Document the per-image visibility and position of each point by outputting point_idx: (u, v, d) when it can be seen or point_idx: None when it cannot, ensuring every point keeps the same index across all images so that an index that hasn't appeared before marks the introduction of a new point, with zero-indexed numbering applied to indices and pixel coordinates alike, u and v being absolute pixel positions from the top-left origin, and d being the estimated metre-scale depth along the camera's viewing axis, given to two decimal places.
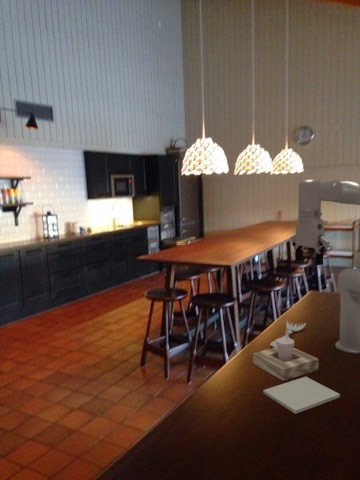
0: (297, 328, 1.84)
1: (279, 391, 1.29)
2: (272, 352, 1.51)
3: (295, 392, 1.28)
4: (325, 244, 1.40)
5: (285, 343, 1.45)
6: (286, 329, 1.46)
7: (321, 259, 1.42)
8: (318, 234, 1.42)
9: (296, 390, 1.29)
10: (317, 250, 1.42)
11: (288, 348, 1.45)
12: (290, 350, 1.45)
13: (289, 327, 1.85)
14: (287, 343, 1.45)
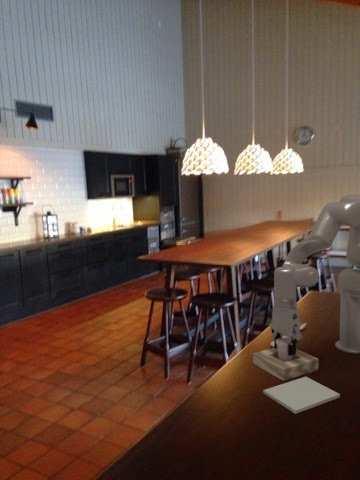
0: None
1: (279, 391, 1.29)
2: (272, 352, 1.51)
3: (295, 392, 1.28)
4: (298, 338, 1.40)
5: (285, 343, 1.45)
6: None
7: (293, 350, 1.43)
8: (293, 325, 1.42)
9: (296, 390, 1.29)
10: (289, 341, 1.43)
11: None
12: None
13: None
14: (287, 343, 1.45)
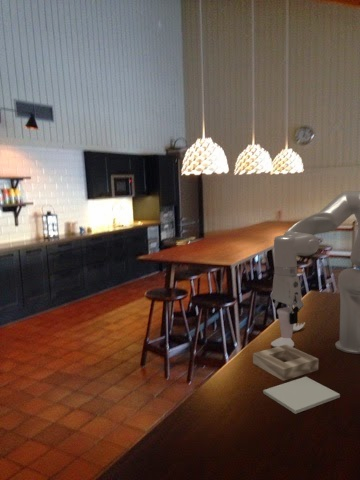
0: (296, 328, 1.85)
1: (279, 391, 1.29)
2: (272, 352, 1.51)
3: (295, 392, 1.28)
4: (299, 306, 1.39)
5: (286, 312, 1.44)
6: None
7: (295, 318, 1.42)
8: (294, 293, 1.40)
9: (296, 390, 1.29)
10: (291, 309, 1.42)
11: None
12: None
13: None
14: (288, 312, 1.44)
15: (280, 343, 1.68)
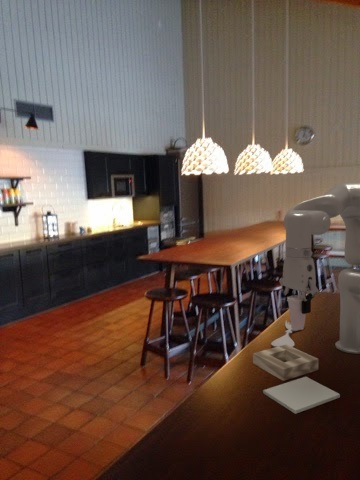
0: None
1: (279, 391, 1.29)
2: (272, 352, 1.51)
3: (295, 392, 1.28)
4: (313, 292, 1.21)
5: (298, 299, 1.26)
6: None
7: (308, 307, 1.25)
8: (308, 278, 1.23)
9: (296, 390, 1.29)
10: (303, 297, 1.24)
11: (301, 305, 1.26)
12: None
13: (288, 326, 1.86)
14: (300, 299, 1.26)
15: (280, 343, 1.68)
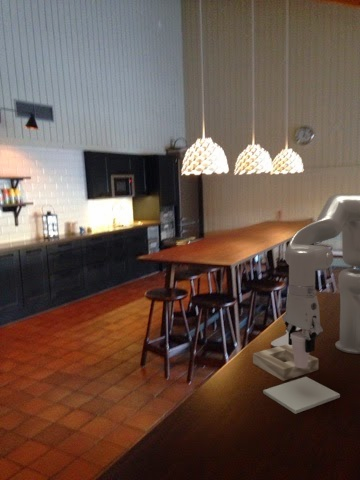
0: (297, 327, 1.85)
1: (279, 391, 1.29)
2: (272, 352, 1.51)
3: (295, 392, 1.28)
4: (317, 331, 1.19)
5: (301, 338, 1.23)
6: None
7: (312, 346, 1.22)
8: (312, 317, 1.20)
9: (296, 390, 1.29)
10: (307, 335, 1.21)
11: None
12: None
13: None
14: (304, 338, 1.23)
15: (280, 343, 1.68)
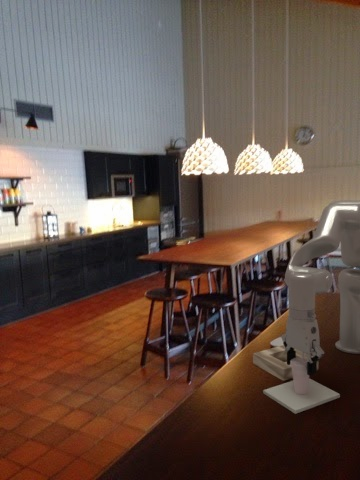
0: None
1: (279, 391, 1.29)
2: (272, 352, 1.51)
3: (295, 392, 1.28)
4: (319, 354, 1.19)
5: (301, 365, 1.25)
6: None
7: (314, 368, 1.22)
8: (312, 340, 1.21)
9: None
10: (309, 358, 1.22)
11: (305, 371, 1.24)
12: None
13: None
14: (304, 365, 1.24)
15: (280, 342, 1.69)
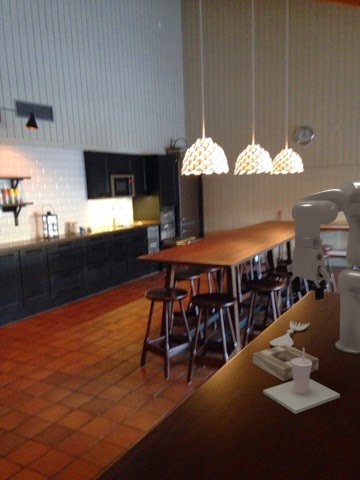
0: (300, 328, 1.84)
1: (279, 391, 1.29)
2: (272, 352, 1.51)
3: (295, 392, 1.28)
4: (326, 277, 1.24)
5: (302, 365, 1.25)
6: (303, 348, 1.26)
7: (321, 293, 1.27)
8: (318, 265, 1.26)
9: None
10: (317, 283, 1.26)
11: (305, 371, 1.24)
12: (307, 373, 1.25)
13: (292, 326, 1.86)
14: (304, 365, 1.25)
15: (279, 342, 1.69)
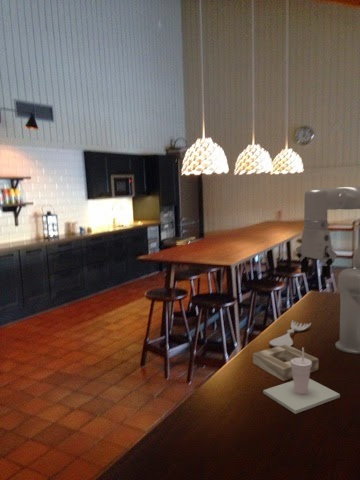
0: (301, 328, 1.84)
1: (279, 391, 1.29)
2: (272, 352, 1.51)
3: (295, 392, 1.28)
4: (332, 256, 1.36)
5: (301, 365, 1.25)
6: (302, 348, 1.26)
7: (328, 271, 1.39)
8: (325, 246, 1.38)
9: None
10: (324, 262, 1.38)
11: (305, 370, 1.25)
12: (307, 373, 1.25)
13: (293, 326, 1.86)
14: (304, 365, 1.25)
15: (279, 342, 1.69)
